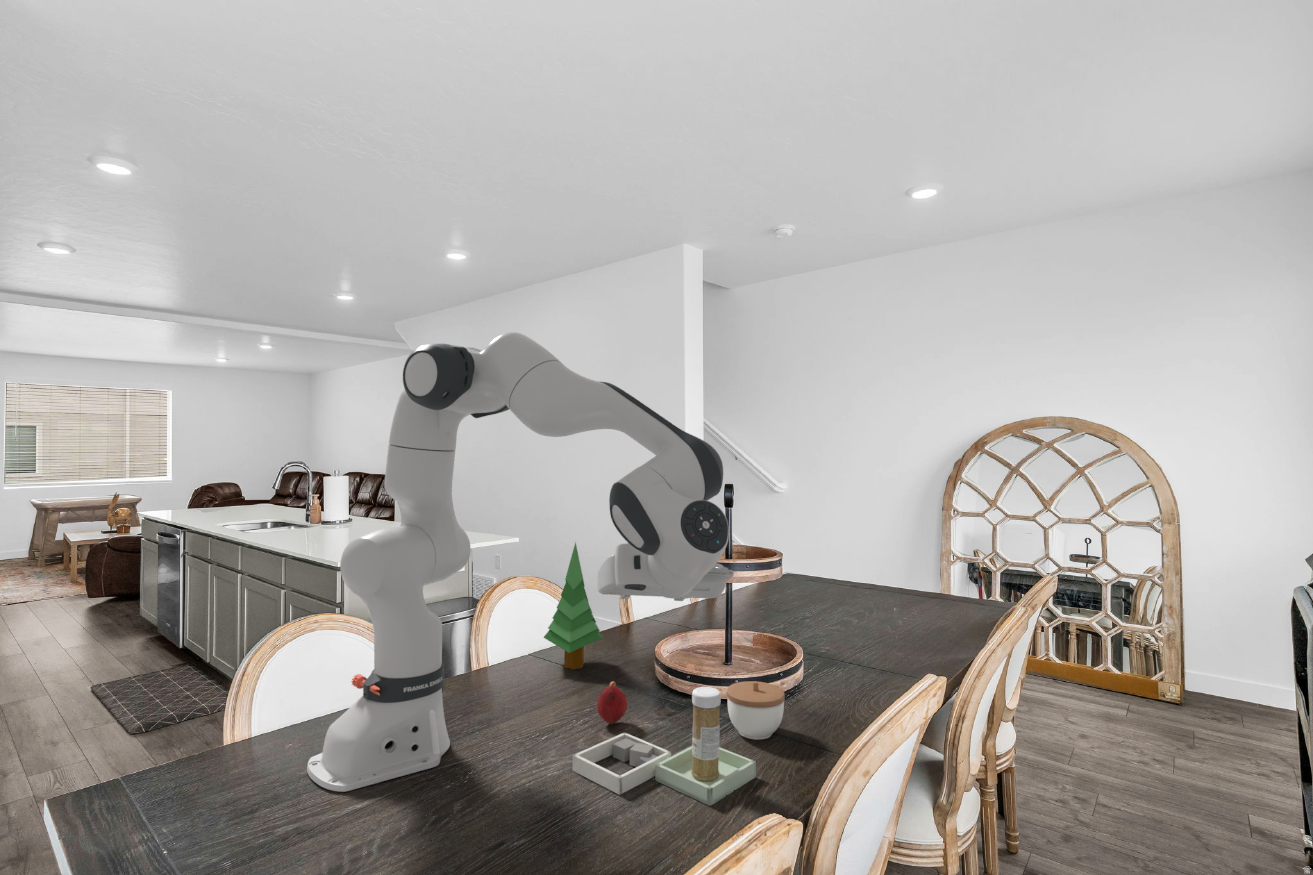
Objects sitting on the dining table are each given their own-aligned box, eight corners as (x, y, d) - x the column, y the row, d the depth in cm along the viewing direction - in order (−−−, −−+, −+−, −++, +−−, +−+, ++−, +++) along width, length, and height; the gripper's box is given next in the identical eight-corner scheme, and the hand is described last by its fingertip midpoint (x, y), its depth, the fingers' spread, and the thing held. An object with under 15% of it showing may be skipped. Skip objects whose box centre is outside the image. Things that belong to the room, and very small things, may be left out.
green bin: (710, 806, 98) (710, 789, 98) (655, 780, 105) (655, 764, 105) (755, 776, 106) (755, 761, 106) (702, 755, 114) (702, 740, 114)
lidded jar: (739, 748, 117) (740, 695, 117) (718, 723, 127) (718, 674, 127) (794, 741, 119) (795, 689, 120) (769, 718, 130) (769, 670, 130)
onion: (622, 732, 123) (623, 688, 123) (592, 729, 124) (593, 686, 124) (629, 719, 129) (630, 678, 129) (601, 716, 130) (601, 675, 130)
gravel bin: (619, 794, 101) (619, 777, 101) (572, 770, 108) (572, 754, 108) (671, 767, 109) (671, 751, 109) (624, 746, 117) (624, 731, 117)
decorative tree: (582, 680, 150) (583, 548, 150) (530, 667, 158) (532, 542, 158) (616, 664, 161) (618, 541, 162) (566, 653, 170) (568, 536, 170)
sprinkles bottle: (689, 768, 108) (690, 685, 108) (716, 767, 108) (717, 685, 108) (693, 782, 103) (694, 696, 103) (722, 781, 104) (723, 695, 104)
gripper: (735, 550, 103) (708, 580, 115) (607, 543, 99) (591, 574, 110) (740, 589, 100) (711, 616, 112) (607, 584, 95) (591, 612, 107)
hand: (650, 595), depth 111 cm, fingers open, 8 cm apart
